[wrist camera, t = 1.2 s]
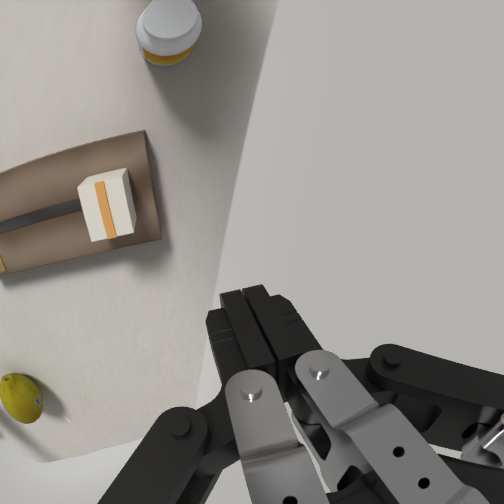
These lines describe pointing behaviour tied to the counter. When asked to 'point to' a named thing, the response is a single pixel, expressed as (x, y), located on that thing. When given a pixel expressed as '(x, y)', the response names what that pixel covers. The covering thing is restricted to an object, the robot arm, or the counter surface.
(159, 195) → the counter surface
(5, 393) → the lemon
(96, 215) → the block
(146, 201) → the brown flat piece
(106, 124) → the counter surface
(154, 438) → the robot arm
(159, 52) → the supplement bottle
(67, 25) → the counter surface
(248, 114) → the counter surface
